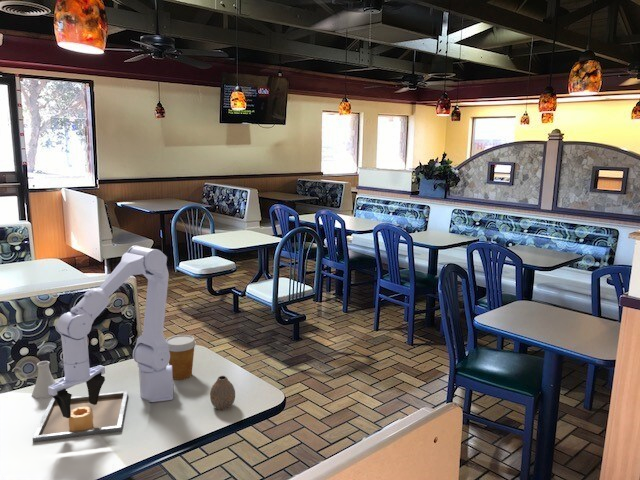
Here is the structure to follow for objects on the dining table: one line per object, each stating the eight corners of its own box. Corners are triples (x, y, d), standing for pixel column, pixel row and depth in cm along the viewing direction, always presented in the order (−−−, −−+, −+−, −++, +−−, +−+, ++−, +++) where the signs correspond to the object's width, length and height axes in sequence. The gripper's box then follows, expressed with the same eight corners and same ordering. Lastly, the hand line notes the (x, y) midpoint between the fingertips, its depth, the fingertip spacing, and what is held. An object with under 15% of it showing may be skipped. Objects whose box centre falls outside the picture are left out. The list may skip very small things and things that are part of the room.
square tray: (128, 394, 149) (127, 390, 149) (121, 431, 130) (120, 427, 130) (51, 403, 144) (51, 399, 143) (32, 442, 125) (32, 438, 124)
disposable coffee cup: (192, 367, 170) (191, 332, 167) (200, 378, 161) (199, 342, 159) (163, 372, 165) (161, 337, 163) (169, 384, 157) (167, 347, 155)
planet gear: (93, 419, 135) (92, 405, 134) (91, 430, 130) (89, 415, 129) (72, 422, 134) (70, 408, 133) (68, 433, 129) (67, 418, 128)
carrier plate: (128, 397, 149) (128, 394, 149) (121, 434, 130) (121, 431, 130) (51, 405, 144) (51, 403, 144) (33, 445, 125) (32, 442, 125)
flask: (48, 402, 145) (45, 369, 144) (25, 400, 147) (22, 367, 145) (65, 391, 152) (63, 359, 151) (43, 388, 154) (41, 356, 152)
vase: (240, 406, 145) (240, 377, 143) (220, 415, 140) (219, 385, 138) (225, 398, 149) (224, 369, 148) (205, 406, 144) (204, 377, 143)
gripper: (91, 346, 137) (94, 394, 139) (38, 366, 124) (43, 418, 127) (109, 352, 133) (112, 400, 136) (56, 373, 121) (61, 426, 123)
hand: (80, 410), depth 131 cm, fingers open, 7 cm apart
